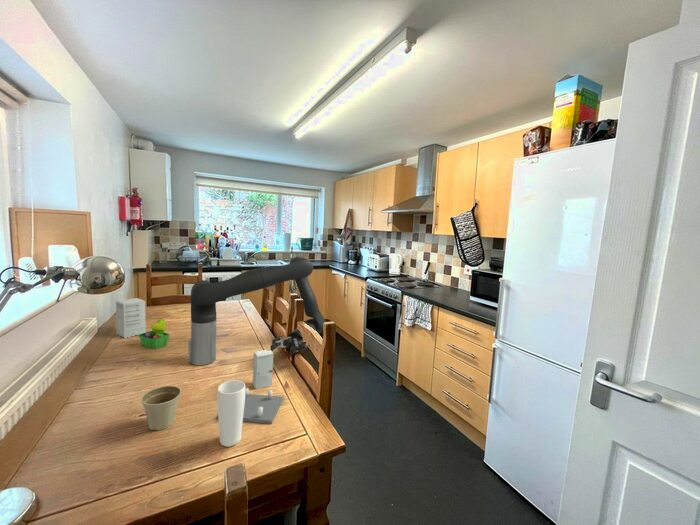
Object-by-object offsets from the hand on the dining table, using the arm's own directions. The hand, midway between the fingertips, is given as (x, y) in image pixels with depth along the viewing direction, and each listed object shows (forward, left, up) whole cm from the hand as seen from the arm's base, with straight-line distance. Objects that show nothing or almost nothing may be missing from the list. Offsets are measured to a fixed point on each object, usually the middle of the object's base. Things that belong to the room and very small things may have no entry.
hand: (280, 350), depth 113 cm
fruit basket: (-62, +14, -9) cm, 64 cm away
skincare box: (-3, -11, -9) cm, 14 cm away
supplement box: (-82, +24, -9) cm, 86 cm away
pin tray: (-1, -25, -8) cm, 26 cm away
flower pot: (-23, -35, -9) cm, 43 cm away
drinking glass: (-2, -39, -9) cm, 40 cm away
